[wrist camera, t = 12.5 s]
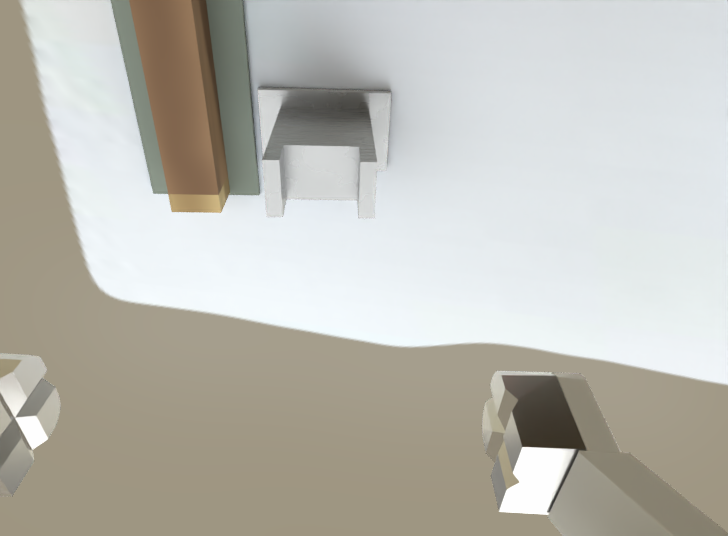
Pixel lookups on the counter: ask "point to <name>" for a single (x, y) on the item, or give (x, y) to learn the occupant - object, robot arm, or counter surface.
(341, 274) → the counter surface
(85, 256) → the counter surface
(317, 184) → the post
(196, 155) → the rail
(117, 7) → the mat
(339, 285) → the counter surface
